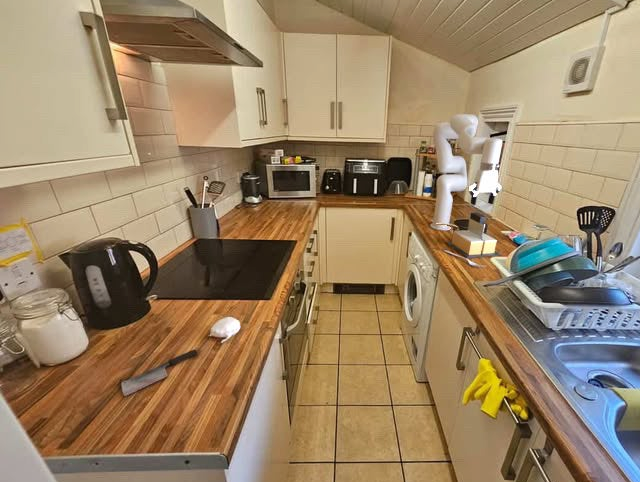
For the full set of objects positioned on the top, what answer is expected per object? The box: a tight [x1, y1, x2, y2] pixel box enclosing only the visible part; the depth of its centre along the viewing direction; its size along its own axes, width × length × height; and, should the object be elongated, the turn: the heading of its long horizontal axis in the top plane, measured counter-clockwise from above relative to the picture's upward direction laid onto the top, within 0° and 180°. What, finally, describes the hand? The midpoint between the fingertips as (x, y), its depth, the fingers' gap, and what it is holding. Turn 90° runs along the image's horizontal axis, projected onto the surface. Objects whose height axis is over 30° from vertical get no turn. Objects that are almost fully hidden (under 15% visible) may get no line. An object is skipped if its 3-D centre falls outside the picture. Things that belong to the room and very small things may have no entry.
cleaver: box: [120, 348, 198, 397], centre depth 72 cm, size 16×1×5 cm
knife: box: [467, 212, 487, 238], centre depth 147 cm, size 12×3×10 cm, turn 14°
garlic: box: [208, 316, 241, 344], centre depth 86 cm, size 8×7×4 cm
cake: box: [445, 229, 501, 259], centre depth 151 cm, size 20×18×7 cm
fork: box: [443, 249, 487, 268], centre depth 139 cm, size 3×24×2 cm, turn 30°
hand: (481, 204), depth 143 cm, fingers open, 9 cm apart
